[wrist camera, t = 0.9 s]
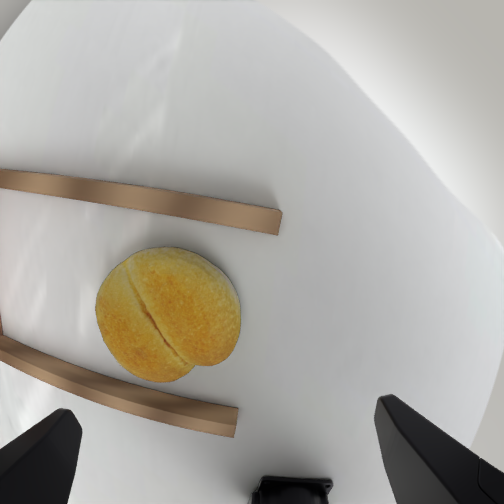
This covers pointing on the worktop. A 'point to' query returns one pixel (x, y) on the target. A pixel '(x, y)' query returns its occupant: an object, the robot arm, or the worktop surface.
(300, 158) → the worktop surface
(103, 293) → the bread roll
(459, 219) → the worktop surface
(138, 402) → the guide channel
